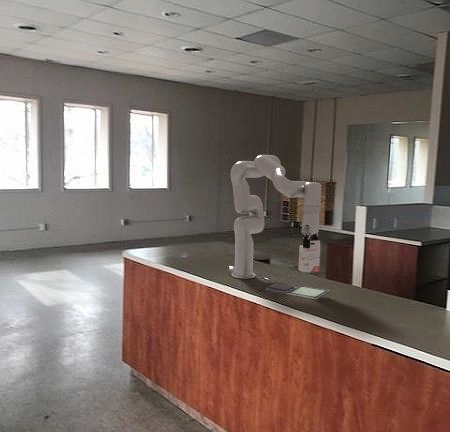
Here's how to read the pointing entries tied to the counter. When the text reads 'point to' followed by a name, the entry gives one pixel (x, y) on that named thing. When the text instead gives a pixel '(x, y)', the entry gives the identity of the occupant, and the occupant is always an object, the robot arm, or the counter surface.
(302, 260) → the ink cartridge box
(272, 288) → the ink pad
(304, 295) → the marked card
